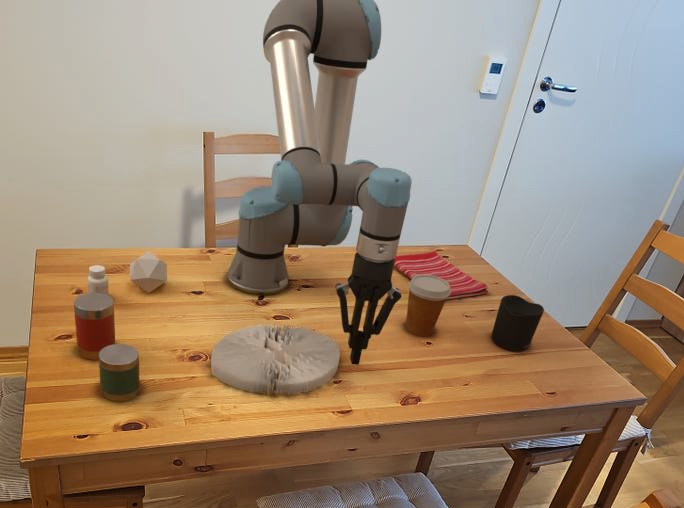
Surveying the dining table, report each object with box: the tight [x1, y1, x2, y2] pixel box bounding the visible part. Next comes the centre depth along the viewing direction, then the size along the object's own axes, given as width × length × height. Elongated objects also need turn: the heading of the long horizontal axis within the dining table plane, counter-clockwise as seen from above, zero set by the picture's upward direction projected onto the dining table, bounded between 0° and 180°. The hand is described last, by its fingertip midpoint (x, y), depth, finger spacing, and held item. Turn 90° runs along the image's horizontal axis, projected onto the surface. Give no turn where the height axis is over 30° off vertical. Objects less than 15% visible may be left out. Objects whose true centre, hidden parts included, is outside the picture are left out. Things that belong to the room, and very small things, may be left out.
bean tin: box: [98, 343, 140, 402], centre depth 115 cm, size 7×7×8 cm
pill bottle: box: [87, 264, 110, 296], centre depth 142 cm, size 4×4×8 cm
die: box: [129, 250, 168, 294], centre depth 150 cm, size 8×9×10 cm
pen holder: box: [490, 294, 545, 353], centre depth 146 cm, size 9×9×10 cm
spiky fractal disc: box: [210, 323, 341, 396], centre depth 130 cm, size 22×28×3 cm
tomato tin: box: [73, 292, 116, 361], centre depth 124 cm, size 7×7×11 cm
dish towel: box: [394, 251, 489, 301], centre depth 174 cm, size 17×24×3 cm
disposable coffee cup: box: [405, 275, 451, 337], centre depth 146 cm, size 10×10×12 cm
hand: (354, 361), depth 131 cm, fingers closed
